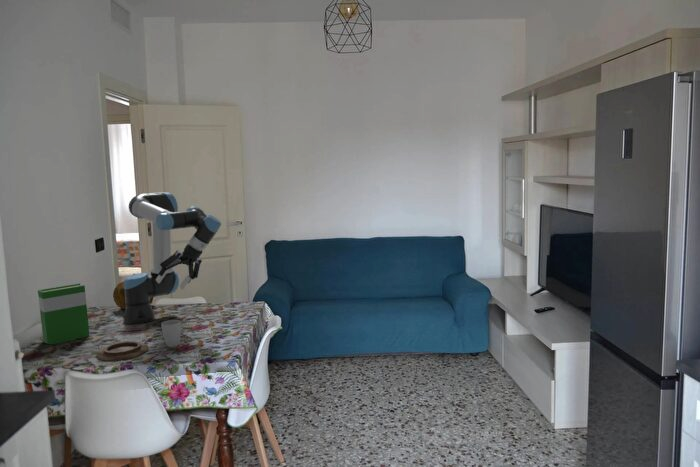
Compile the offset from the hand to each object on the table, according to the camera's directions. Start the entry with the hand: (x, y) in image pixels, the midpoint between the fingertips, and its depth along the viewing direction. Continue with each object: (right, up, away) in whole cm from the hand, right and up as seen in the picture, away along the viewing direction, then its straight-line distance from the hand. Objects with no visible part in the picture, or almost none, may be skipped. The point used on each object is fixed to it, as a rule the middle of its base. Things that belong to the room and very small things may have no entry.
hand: (169, 284), depth 246 cm
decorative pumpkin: (-39, -19, +59) cm, 73 cm away
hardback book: (-49, -26, +6) cm, 56 cm away
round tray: (-14, -27, -17) cm, 35 cm away
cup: (+5, -25, -9) cm, 27 cm away
